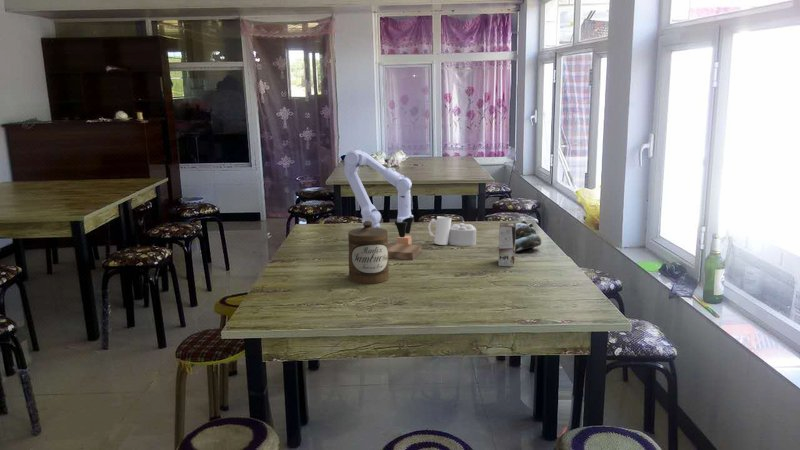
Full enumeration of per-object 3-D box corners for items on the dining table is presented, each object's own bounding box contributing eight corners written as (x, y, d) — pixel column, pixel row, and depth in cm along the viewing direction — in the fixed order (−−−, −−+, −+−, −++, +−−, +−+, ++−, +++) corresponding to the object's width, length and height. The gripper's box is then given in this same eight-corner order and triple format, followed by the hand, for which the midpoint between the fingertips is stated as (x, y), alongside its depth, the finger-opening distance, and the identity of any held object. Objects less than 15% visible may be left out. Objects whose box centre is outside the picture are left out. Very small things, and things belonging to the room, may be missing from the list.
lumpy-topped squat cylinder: (476, 246, 289) (477, 227, 288) (447, 245, 289) (448, 226, 288) (474, 240, 299) (474, 222, 298) (446, 240, 300) (446, 222, 298)
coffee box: (514, 266, 255) (515, 227, 252) (498, 266, 256) (499, 226, 253) (515, 260, 264) (516, 222, 261) (499, 260, 265) (500, 221, 262)
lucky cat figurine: (508, 253, 275) (500, 223, 279) (509, 257, 287) (501, 228, 290) (543, 244, 273) (533, 213, 277) (542, 248, 285) (533, 219, 288)
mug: (448, 243, 295) (452, 217, 293) (447, 246, 289) (451, 219, 287) (427, 240, 297) (430, 214, 295) (425, 242, 290) (429, 216, 288)
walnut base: (381, 257, 271) (380, 250, 270) (391, 249, 284) (391, 243, 283) (412, 260, 266) (412, 253, 266) (422, 252, 279) (422, 245, 279)
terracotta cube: (397, 248, 286) (397, 237, 285) (401, 245, 291) (400, 235, 290) (408, 249, 285) (408, 238, 284) (411, 246, 290) (411, 235, 288)
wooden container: (353, 285, 232) (352, 226, 227) (345, 274, 246) (344, 218, 241) (393, 282, 236) (392, 223, 231) (383, 271, 250) (382, 216, 245)
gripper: (408, 208, 276) (408, 239, 279) (417, 202, 289) (417, 232, 292) (392, 207, 278) (393, 238, 281) (402, 202, 292) (403, 231, 294)
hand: (404, 235), depth 287 cm, fingers open, 7 cm apart
